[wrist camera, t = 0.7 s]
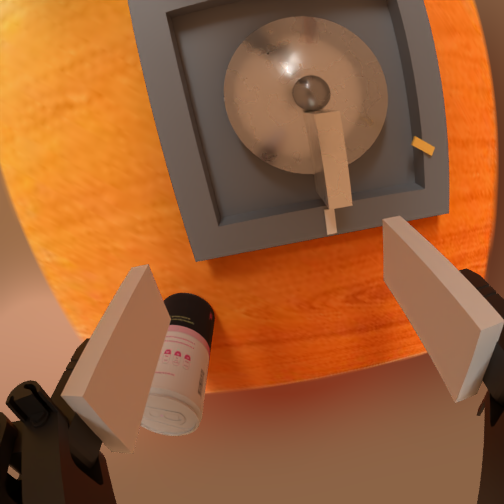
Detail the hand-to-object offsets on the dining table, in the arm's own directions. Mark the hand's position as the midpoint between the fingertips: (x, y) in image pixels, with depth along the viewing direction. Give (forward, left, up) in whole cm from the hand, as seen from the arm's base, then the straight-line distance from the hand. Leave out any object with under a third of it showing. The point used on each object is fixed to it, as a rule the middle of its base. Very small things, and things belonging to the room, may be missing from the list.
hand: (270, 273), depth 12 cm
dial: (-5, +6, -18) cm, 20 cm away
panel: (-6, +5, -20) cm, 21 cm away
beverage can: (+15, -12, -20) cm, 27 cm away
